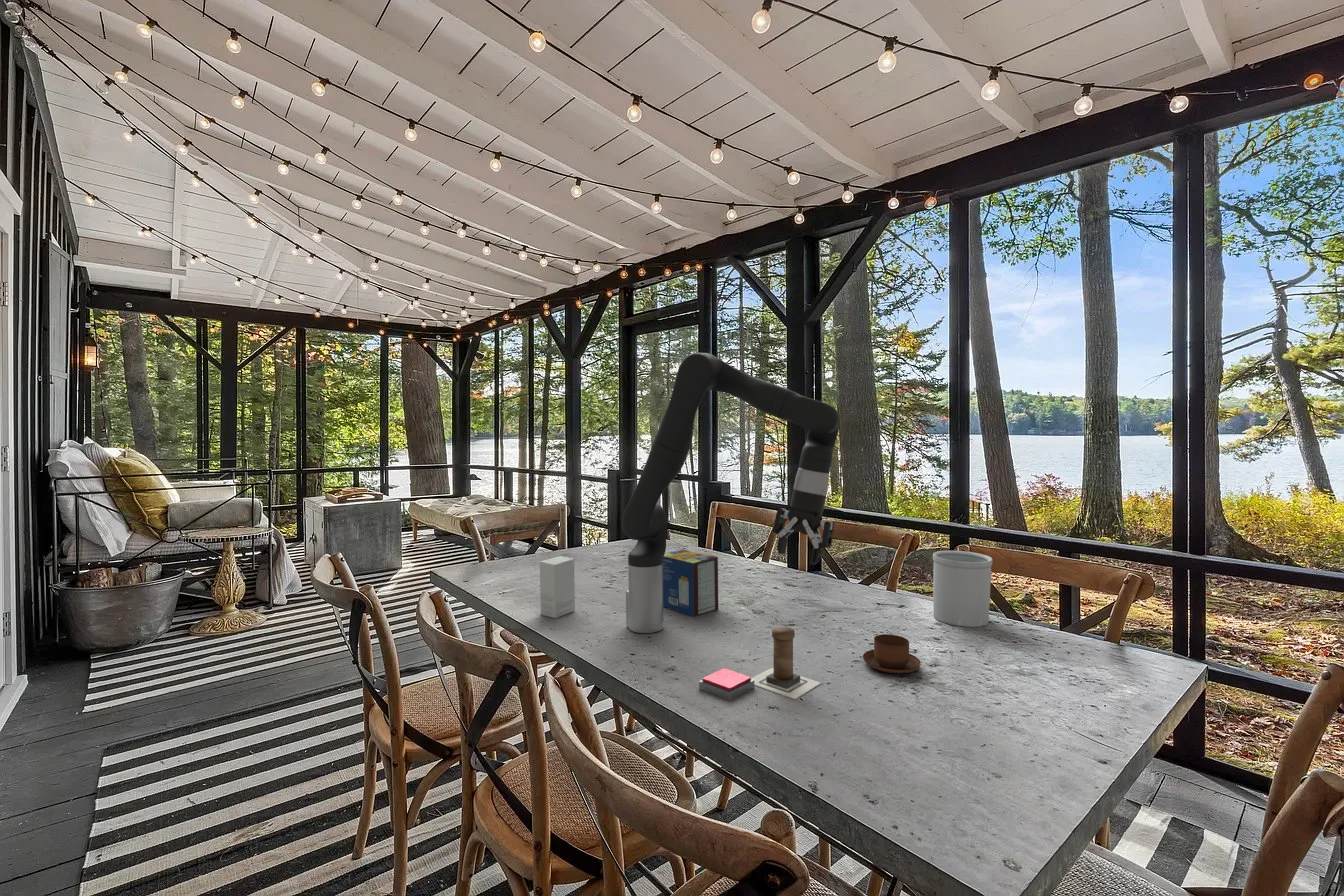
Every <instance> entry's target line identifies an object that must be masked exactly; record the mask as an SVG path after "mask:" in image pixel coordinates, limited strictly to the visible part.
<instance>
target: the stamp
mask: <svg viewBox="0 0 1344 896" xmlns="http://www.w3.org/2000/svg"><path fill="white" fill-rule="evenodd" d="M795 633H796V632H795V629H794V628H791V627H786V626H776V627H774V628H772V629H771V637H772V638H773V668H774V673H772V674H770V675H768V676H766V682H768V683H771V684H774V685H776V686H779V687H782V688H785V689H788V688H790V687H791V686H793V685H795V684H797V683H798V682H800V676H801V675H800V674H799V675H798V674H796V673H794V639H795V636H796V635H795Z"/></svg>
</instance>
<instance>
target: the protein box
mask: <svg viewBox="0 0 1344 896" xmlns="http://www.w3.org/2000/svg"><path fill="white" fill-rule="evenodd" d="M664 608H665V609H668V610H670V611H673V612H676V613H680V614H683V615H686V616H690V617H693V618H694V617H698V616H701V615H704V614H707V613H711V612H714V611H717V610H719V557H718V556H715V555H710V554H705V553H700V552H694V551H692V550H691V551H690V550H685V549H680V550H674V551H669V552H665V554H664V556H663V609H664Z"/></svg>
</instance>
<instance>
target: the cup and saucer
mask: <svg viewBox="0 0 1344 896" xmlns="http://www.w3.org/2000/svg"><path fill="white" fill-rule="evenodd" d="M862 659H863V661H864V662H865V663H866V664H867V665H868V666H869V667H870V668H872V669H874V670H877V671H880V672H883V673H888V674H897V675H899V674H900V675H901V674H902V675H903V674H908V673H912V672H913V673H914V672H915V671H917V670H918V669H919V668H920V667H921V660H920V659H919V658H918V657H917V656H915V655H913V654H911V653H910V641H909V639H907V638H906V637H903V636H900V635H896V634H877V635H875V636H874V638H873V649H870V650H868V651H865V652H864V653H863V654H862Z"/></svg>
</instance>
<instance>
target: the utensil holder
mask: <svg viewBox="0 0 1344 896" xmlns="http://www.w3.org/2000/svg"><path fill="white" fill-rule="evenodd" d="M932 560H933V579H932V580H933V581H932V582H933V586H932V587H933V589H932V591H933V592H932V593H933V594H932V595H933V596H932V603H933V604H932V605H933V606H932V609H933V610H932V611H933V617H934V618H935V619H936V620H937V621H939V622H941V623H944V624H948V625H952V626H958V627H967V628H978V627H979V628H980V627H983V626H986V625H988V624H989V620H990V619H989V617H990V606H991V605H990V603H991V580H992V565H993V564H994V563H993V558H992V557H991V556H989V555H986V554H983V553H979V552H978V553H977V552H972V551H963V550H940V551H939V550H938V551H936V552H933V553H932Z"/></svg>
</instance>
